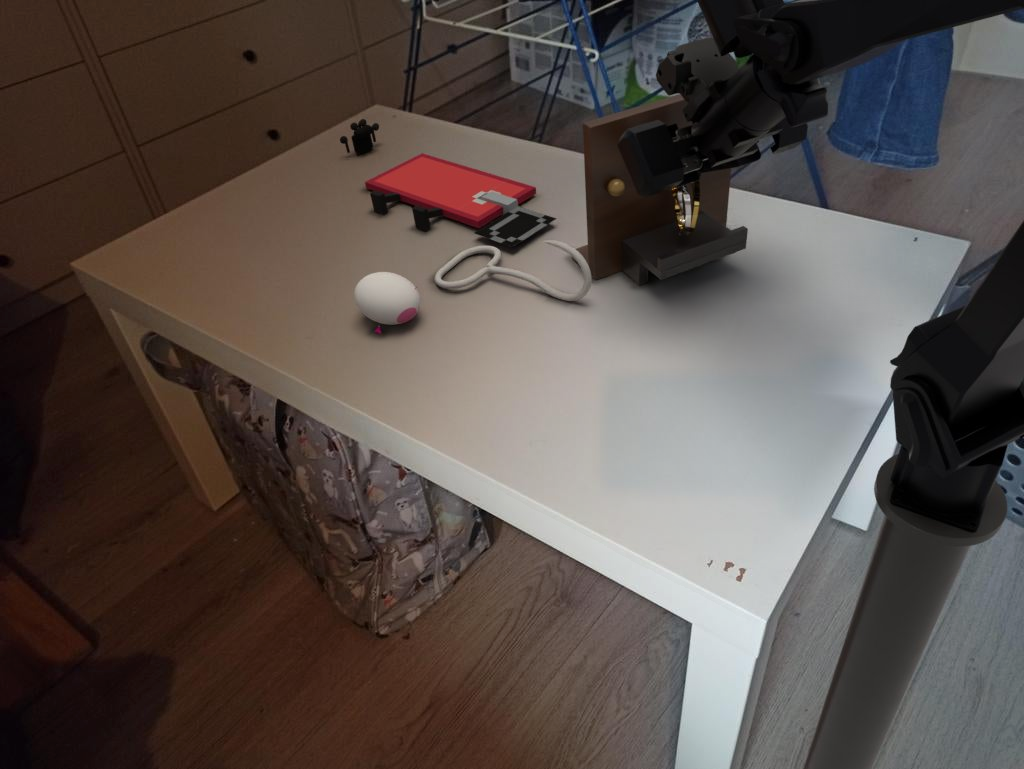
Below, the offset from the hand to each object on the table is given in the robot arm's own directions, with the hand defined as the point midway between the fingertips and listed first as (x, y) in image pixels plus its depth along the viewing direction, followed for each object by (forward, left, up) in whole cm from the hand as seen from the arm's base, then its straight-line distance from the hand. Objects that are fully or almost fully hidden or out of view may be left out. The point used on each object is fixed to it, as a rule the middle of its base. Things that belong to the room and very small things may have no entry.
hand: (677, 174), depth 84 cm
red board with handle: (+32, -2, -11) cm, 34 cm away
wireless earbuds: (+56, -10, -11) cm, 58 cm away
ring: (-1, +1, -7) cm, 7 cm away
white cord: (+14, +11, -11) cm, 21 cm away
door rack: (+1, -1, -11) cm, 11 cm away
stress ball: (+23, +22, -11) cm, 34 cm away
